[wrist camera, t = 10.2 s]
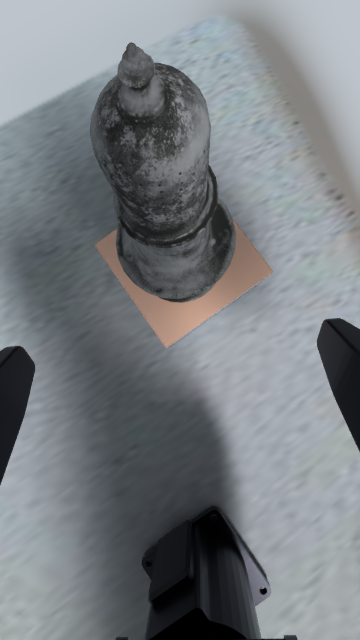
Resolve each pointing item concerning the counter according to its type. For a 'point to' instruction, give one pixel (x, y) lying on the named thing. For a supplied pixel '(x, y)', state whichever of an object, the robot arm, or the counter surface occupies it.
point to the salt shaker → (162, 179)
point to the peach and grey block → (185, 317)
